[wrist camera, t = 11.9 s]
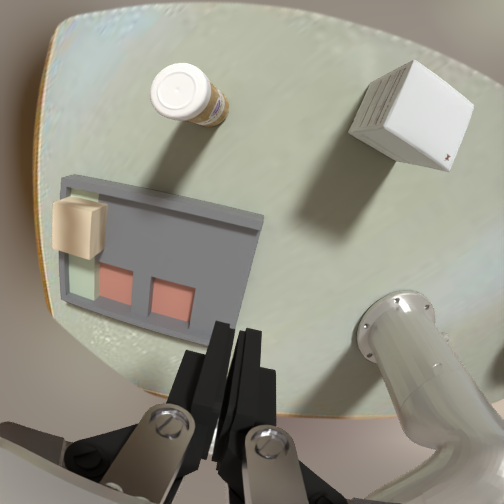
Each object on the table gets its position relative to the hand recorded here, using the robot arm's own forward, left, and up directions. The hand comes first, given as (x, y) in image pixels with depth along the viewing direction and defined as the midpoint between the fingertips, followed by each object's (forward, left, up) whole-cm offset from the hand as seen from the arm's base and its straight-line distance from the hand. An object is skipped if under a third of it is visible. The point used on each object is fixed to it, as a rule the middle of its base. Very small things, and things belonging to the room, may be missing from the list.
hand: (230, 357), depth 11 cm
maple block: (+21, +6, -25) cm, 33 cm away
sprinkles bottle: (+8, -10, -27) cm, 30 cm away
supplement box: (-12, -14, -27) cm, 33 cm away
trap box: (+12, +10, -27) cm, 31 cm away
